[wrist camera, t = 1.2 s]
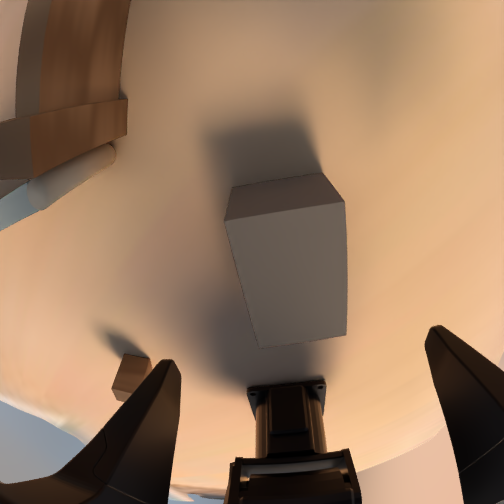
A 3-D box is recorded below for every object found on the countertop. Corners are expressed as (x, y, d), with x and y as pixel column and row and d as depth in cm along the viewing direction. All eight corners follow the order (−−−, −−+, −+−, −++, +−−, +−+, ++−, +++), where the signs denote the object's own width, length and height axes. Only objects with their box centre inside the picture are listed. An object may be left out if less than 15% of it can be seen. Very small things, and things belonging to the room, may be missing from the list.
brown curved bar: (107, -22, 8) (23, -62, 2) (146, -30, 8) (74, -88, 2) (128, 366, 21) (105, 437, 15) (152, 371, 21) (133, 445, 15)
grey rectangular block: (331, 286, 17) (346, 335, 13) (258, 297, 17) (259, 348, 14) (322, 171, 13) (344, 201, 10) (232, 186, 14) (223, 221, 10)
